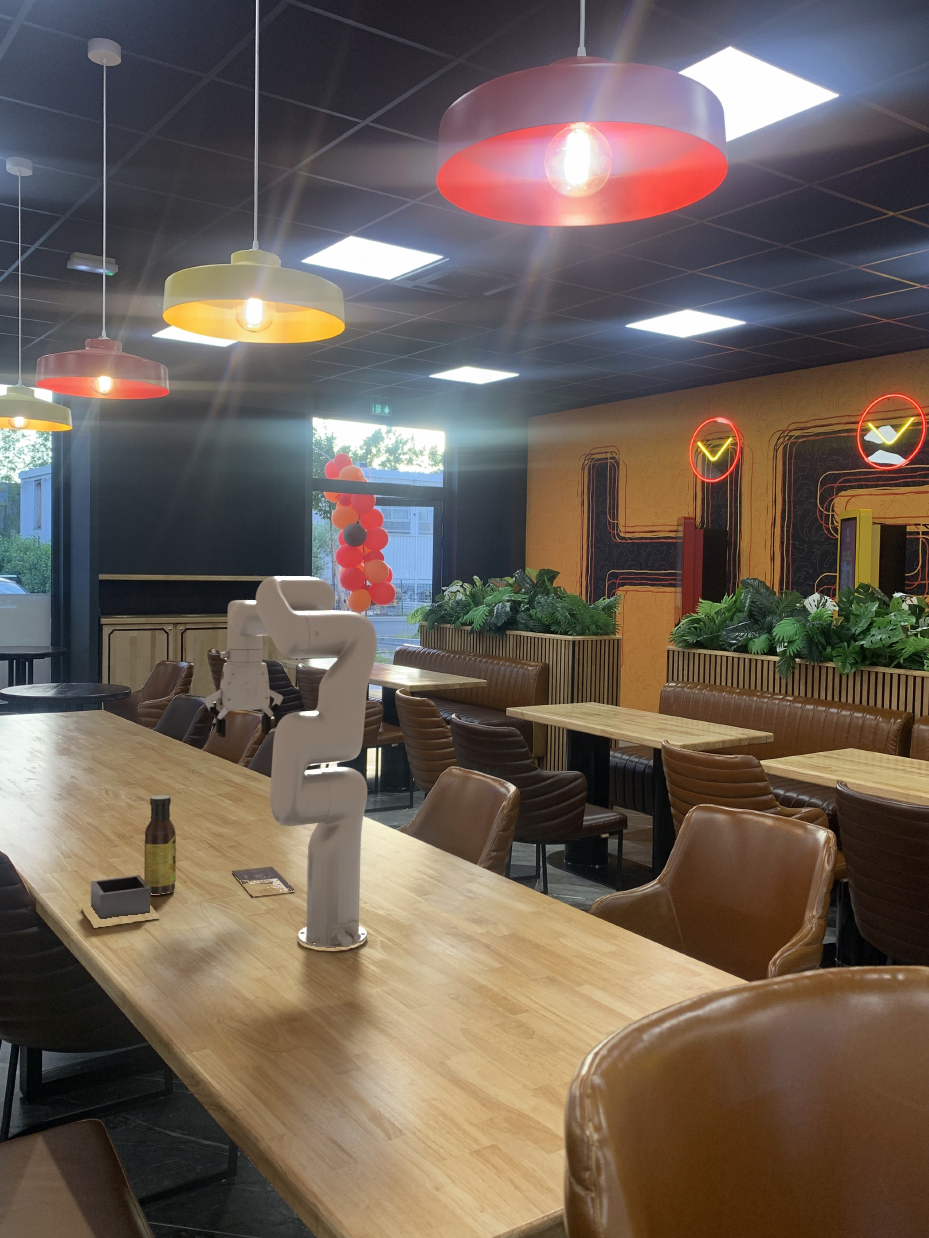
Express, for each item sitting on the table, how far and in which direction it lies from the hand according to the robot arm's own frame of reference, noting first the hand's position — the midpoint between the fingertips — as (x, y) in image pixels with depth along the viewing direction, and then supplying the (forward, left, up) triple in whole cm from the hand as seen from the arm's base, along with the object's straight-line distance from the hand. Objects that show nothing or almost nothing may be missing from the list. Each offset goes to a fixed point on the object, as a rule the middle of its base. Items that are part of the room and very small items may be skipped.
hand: (243, 735), depth 218 cm
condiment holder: (-14, +29, -31) cm, 44 cm away
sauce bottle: (-4, +19, -31) cm, 37 cm away
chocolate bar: (-6, -2, -32) cm, 32 cm away
